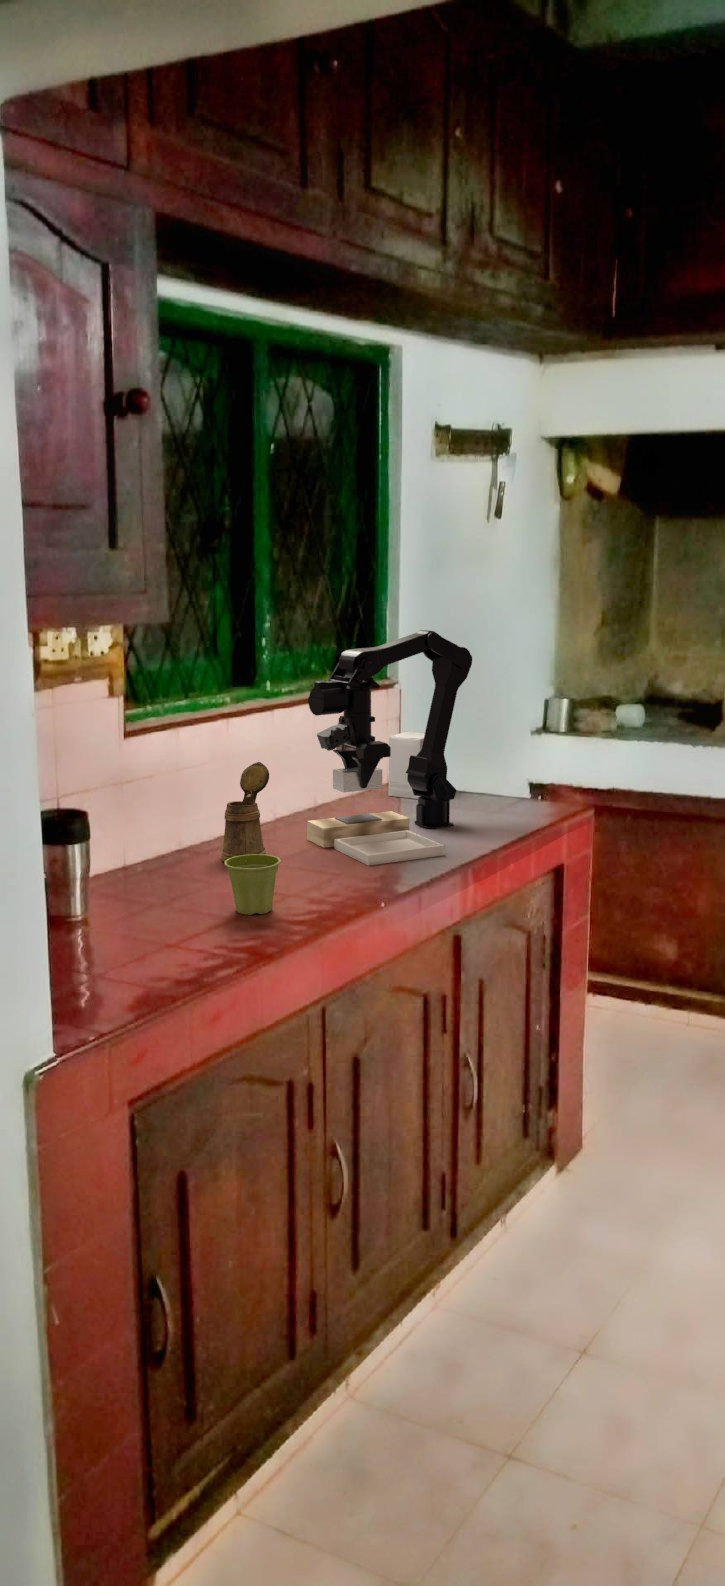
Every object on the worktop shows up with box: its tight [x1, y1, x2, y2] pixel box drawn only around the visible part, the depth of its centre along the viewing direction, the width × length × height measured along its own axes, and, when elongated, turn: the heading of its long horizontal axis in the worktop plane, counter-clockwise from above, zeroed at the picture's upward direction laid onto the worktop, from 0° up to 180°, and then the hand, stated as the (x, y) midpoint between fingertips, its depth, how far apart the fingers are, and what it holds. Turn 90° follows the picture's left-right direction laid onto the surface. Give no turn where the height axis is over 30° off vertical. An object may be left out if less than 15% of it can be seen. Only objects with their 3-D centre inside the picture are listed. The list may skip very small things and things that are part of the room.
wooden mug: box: [221, 761, 270, 863], centre depth 246 cm, size 9×14×18 cm, turn 161°
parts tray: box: [333, 830, 445, 866], centre depth 250 cm, size 17×15×2 cm
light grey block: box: [332, 767, 383, 793], centre depth 259 cm, size 9×5×4 cm, turn 117°
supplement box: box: [388, 731, 425, 800], centre depth 304 cm, size 9×9×15 cm
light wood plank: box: [306, 810, 410, 849], centre depth 261 cm, size 20×8×4 cm, turn 117°
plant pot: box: [224, 854, 282, 916], centre depth 210 cm, size 9×9×9 cm
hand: (357, 785), depth 259 cm, fingers closed on light grey block, 5 cm apart
